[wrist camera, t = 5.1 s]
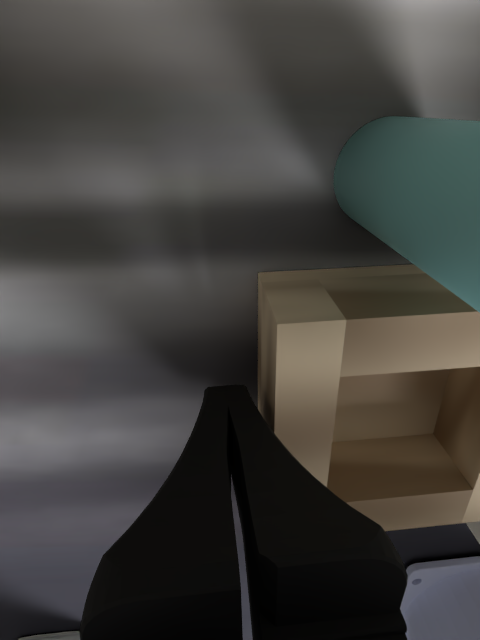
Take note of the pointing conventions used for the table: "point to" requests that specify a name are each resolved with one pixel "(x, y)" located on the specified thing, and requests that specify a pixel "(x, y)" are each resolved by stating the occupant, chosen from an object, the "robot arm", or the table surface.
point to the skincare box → (55, 636)
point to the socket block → (375, 389)
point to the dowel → (419, 194)
